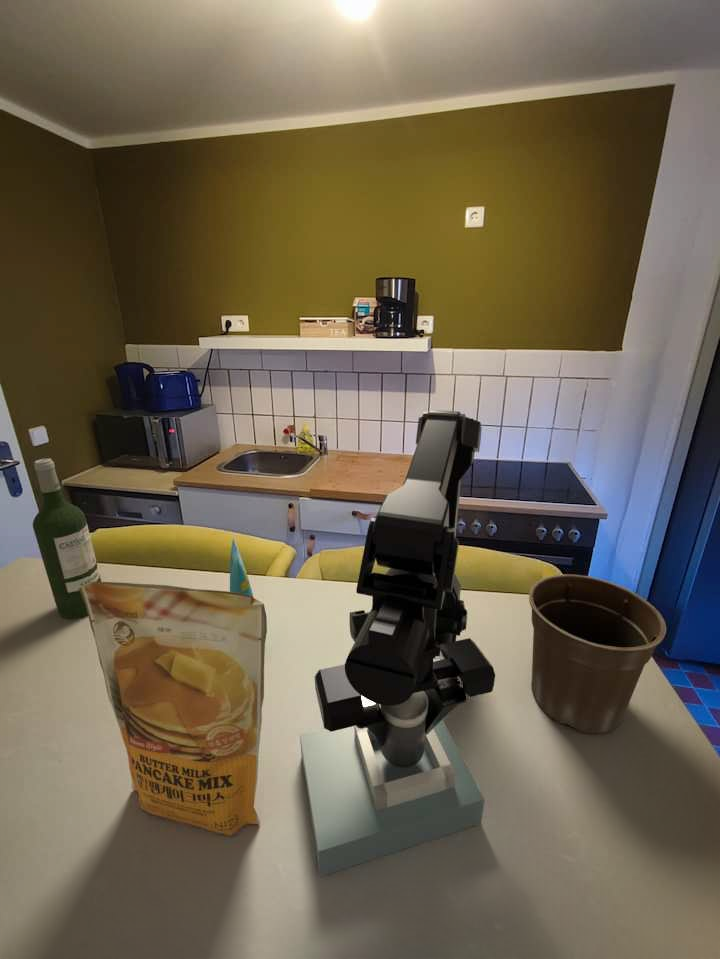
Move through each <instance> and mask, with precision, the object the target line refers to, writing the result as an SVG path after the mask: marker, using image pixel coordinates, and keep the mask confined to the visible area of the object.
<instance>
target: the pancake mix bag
mask: <svg viewBox="0 0 720 959" xmlns="http://www.w3.org/2000/svg"><path fill="white" fill-rule="evenodd" d="M79 591H80V592H81V595H82V597H83V600H84V602H85V605H86V609H87V612H88V615H87V616H88V619H89V620H88V621H89V623H90V624H89V626H90V628H91V632H92V633H93V634H92V635H93V637H94V641H95V645H96V648H97V654H98V660H99V663H100V668H101V670H102V673H103V676H104V683H105V689H106V692H107V697H108V700H109V702H110V704H111V708H112V710H113V713H114V715H115V719H116V722H117V724H118V727H119V730H120V734H121V735H120V736H121V739H122V741H123V744H124V746H125V749H126V753H127V757H128V758H127V759H128V767H129V768H128V769H129V772H130V777H131V789H132V790H133V791H135V792H136V793H138V803H139V806H140V808H141V809H142V810H144V811H145V812H146V813H148V814H149V815H151V816H154V817H158V818H162V819H165V820H169V821H172V822H175V823H179V824H183V825H187V826H191V827H195V828H198V829H202V830H204V831H207V832H210V833H214V834H218V835H221V836H227V837H228V836H230V837H235V836H236V835H237V834H238V833H239V832H241V830H243V828H244V827H246V826H247V825H261V822H260V819H259V816H258V813H257V811H256V809H255V802H256V801H255V800H256V793H257V784H258V775H259V774H258V771H259V753H260V741H261V731H262V722H263V721H262V719H263V718H262V717H263V716H262V714H263V712H262V710H263V704H264V699H265V651H266V650H265V648H266V639H267V632H268V625H267V624H268V622H267V613H266V608H265V603H264V602H262V601H260V600H258V599H256V598H255V597H254V596H253V597H252V596H249V595H245V594H241V593H237V592H230V591H225V590H215V589H214V590H213V589H201V588H200V589H197V588H195V589H194V588H188V587H182V586H180V587H179V586H174V585H168V584H167V585H165V584H155V583H154V584H152V583H150V584H149V583H129V582H115V581H101V582H91V583H89V584H87V585H85V586H83V587H81V588H79Z"/></svg>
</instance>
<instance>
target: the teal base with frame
mask: <svg viewBox="0 0 720 959" xmlns="http://www.w3.org/2000/svg"><path fill="white" fill-rule="evenodd" d="M299 742H300V752H301V753H300V754H301V763H302V768H303V769H302V770H303V775H304V776H303V777H304V782H305V788H306V795H307V801H308V808H309V814H310V821H311V828H312V834H313V835H312V836H313V840H314V846H315V855H316V861H317V867H318V874H319V878H322V877H324V876H328V875H330V874H334V873H336V872H339V871H344V870H346V869H349V868H352V867H355V866H357V865H361V864H364V863H367V862H369V861H373V860H377V859H379V858H382V857H385V856H389V855H392V854H394V853H398V852H401V851H403V850H407V849H409V848H412V847H416V846H419V845H421V844H424V843H427V842H431V841H433V840H436V839H440V838H443V837H446V836H448V835H452V834H454V833H457V832H461V831H464V830H467V829H471V828H473V827H476V826H479V825H481V824H482V819H483V818H482V817H483V813H484V812H483V811H484V804H485V798H484V796H483V794H482V792H481V791H480V790H481V789H480V788H479V786H478V785H477V783H476V781H475V779H474V777H473V775H472V774H471V771H470V770H469V767H468V765H467V764H466V762H465V760H464V757H463V755H462V754H461V752H460V750H459V748H458V746H457V745H456V743H455V741H454V739H453V737H452V735H451V733H450V731H449V729H448V728H447V725H446V724H445V722H444V719H442V720H441V721H440V722H439V723H438V724H437V725H436V726H435V727H434V728H433V729H432V730H431V731H430V732H429V733H428V734H426V735H425V742H424V753H423V756H422V758H421V760H420V761H419V762H418V763H417V764H415V765H413V766H411V767H398V766H395V765H393V764H391V763H390V762H388V761H387V760H386V759H385V757H384V756H383V754H382V752H381V747H380V746H379V744H378V742H377V740H376V738H375V736H374V734H373V733H372V732H371V731H369V730H368V729H367V728H362V729H360V728H358V727H357V726H352V727H348V728H344V729H340V730H336V731H332V732H330V731H329V730H327V729H325V728H324V727H323V728H320V729H317V730H313V731H309V732H304V733H301V734H299Z"/></svg>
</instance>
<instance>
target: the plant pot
mask: <svg viewBox="0 0 720 959" xmlns="http://www.w3.org/2000/svg"><path fill="white" fill-rule="evenodd" d="M528 600H529V602H528V603H529V605H530V607H531V624H532V627H533V636H532V660H531V661H532V664H531V666H532V667H531V682H530V683H531V684H530V685H531V692H532V695H533V697H534V699H535V700H536V703H537V704H538V706H540V708H541V709H542V710H543V711H544V712H545V713H546V714H547V715H548V716H549V717H550V718H552V719H553V720H555V721H556V722H557V723H559V724H561V725H562V724H563V725H569V726H570V727H572V728H574V729H575V730H576V731H577V732H580V733H585V734H594V735H596V734H605V733H608V732H611V731H613V730H615V729H616V728H618V727H619V726H620V725H621V723H622V721H623V719H624V716H625V714H626V711H627V709H628V706H629V704H630V701H631V699H632V697H633V695H634V694H633V693H634V692H635V689H636V688H637V687H636V686H637V684H638V682H639V679H640V677H641V675H642V673H643V670H644V667H645V665H646V664H647V663H648V662H649V661H650V660H651V659H652V656H653V654H654V651H655V649H656V648H657V646H659V645H660V644H661V643H662V642H663V640H664V638H665V636H666V633H667V625H666V621H665V619H664V618H663V615H662V614H661V613H660V611H659V610H657V609H656V607H655V606H653V605H652V604H651V603H650V602H649V601H647V600H646V599H644V598H643V597H642V596H640V595H639V594H637V593H636V592H634V591H631V590H630V589H628V588H626V587H623V586H621V585H619V584H616V583H614V582H611V581H608V580H604V579H601V578H597V577H593V576H588V575H581V574H569V573H568V574H565V573H564V574H563V573H562V574H556V575H555V574H554V575H549V576H547V577H544V578H541V579H540V580H537V581H536V582H534V584H533V585H532V586H531V587H530V589H529V593H528Z"/></svg>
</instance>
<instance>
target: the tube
mask: <svg viewBox="0 0 720 959" xmlns="http://www.w3.org/2000/svg"><path fill="white" fill-rule="evenodd" d="M229 565H230V566H229V592H237V593H241V594H245V595H249V596H252V597H253V598H254V594H253V591H252V587H251V583H250V579H249V576H248V573H247V570H246V567H245V564H244V561H243V559H242V556H241V553H240V550H239V549H238V545H237V543H236V541H235V537H234V536H232V543H231V548H230V562H229Z"/></svg>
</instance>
